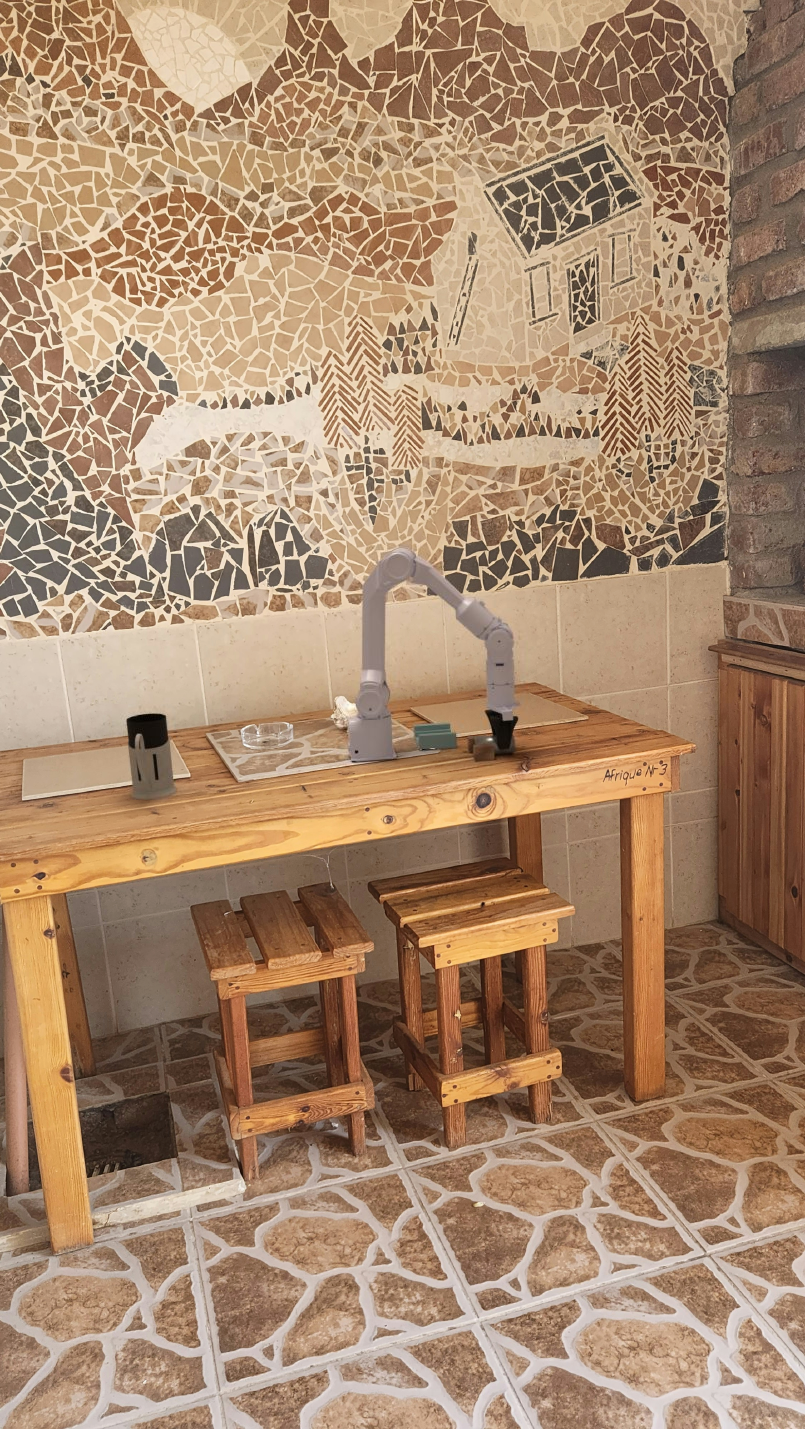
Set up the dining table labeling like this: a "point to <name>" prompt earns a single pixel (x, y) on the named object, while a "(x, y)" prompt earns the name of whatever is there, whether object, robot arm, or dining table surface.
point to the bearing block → (480, 750)
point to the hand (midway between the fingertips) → (502, 746)
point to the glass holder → (150, 757)
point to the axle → (495, 743)
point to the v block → (435, 736)
